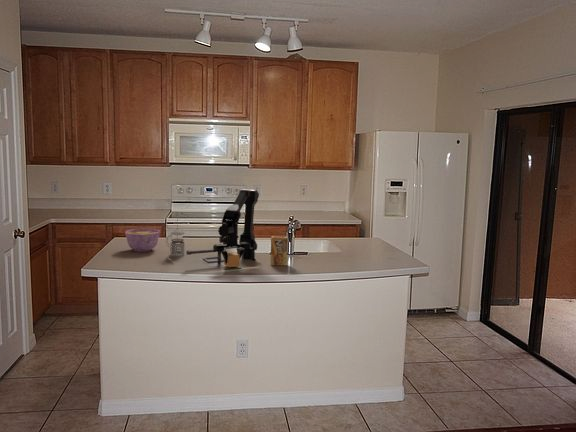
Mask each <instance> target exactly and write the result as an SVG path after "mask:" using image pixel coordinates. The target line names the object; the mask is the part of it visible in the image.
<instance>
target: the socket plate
mask: <svg viewBox="0 0 576 432" xmlns="http://www.w3.org/2000/svg"><path fill="white" fill-rule="evenodd" d="M198 259H199V260H200V261H202V262H203V263H205V264H206V265H207V266H209V267H217V266H218V267H220V266H225V265H224V258H223V257H221V264H218V255H217V256H209V257H198Z"/></svg>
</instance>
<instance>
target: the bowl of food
mask: <svg viewBox="0 0 576 432" xmlns="http://www.w3.org/2000/svg"><path fill="white" fill-rule="evenodd" d="M160 231H161V230H159V229H156V228H133V229H128V230H125V232H124V234H125V238H126V241H127V244H128V246H129V248H130V249H132V250H134V251H136V252H138V253H139V252H140V253H145V252H150V251H151V250H153V249H154V248H156V247H157V245H158V242H159V238H160V233H161V232H160Z"/></svg>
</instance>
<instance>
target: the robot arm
mask: <svg viewBox="0 0 576 432" xmlns="http://www.w3.org/2000/svg"><path fill="white" fill-rule="evenodd" d="M259 197H260V193H259V191H258V190H256V189H246V188H241V189H240V190H239V193H238V195H237V197H236V198H235V200H234V202H233V203H232V205H229V206H228V207H227V209H225V211H224V214H223V217H222V219H221V225H220V226H219V228H218V229H217V231H218V235H219V241H218V242H219V243H217V244H216V243H215V244H213V246H212V247H213V248H212V249H213V250H215V251H217V252H216V253H218V252H221V256H222V258H223V259H224V260H225V263H226V264H227V253H228V251H227V250H228V249H229V250H230V249H236V253H237V254H239V255H240V258H239V261H241V259H242V260H251V261H256V260H257V259H256V258H255V256H256V254H255V253H256V251H257V250H258V243H257V240H256V236H255V234H254V232H253V231H254V230H253V227H254V216H255V215H254V214H255V206H256V205H257V204H258V201H259ZM244 205H245V210H244V223H243V225H244V226H243V232H242V233H240V235H239V234H238V233H239V232H238V231H239V224H240V222H239V221H240V219H241V215H242V213H241V210H242V208H243V207H244ZM238 240H239V242H238Z"/></svg>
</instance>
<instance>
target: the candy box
mask: <svg viewBox="0 0 576 432" xmlns="http://www.w3.org/2000/svg"><path fill="white" fill-rule="evenodd" d="M287 261H288V236H273V235H271V238H270V265H271V266H287V264H288V262H287Z"/></svg>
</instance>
